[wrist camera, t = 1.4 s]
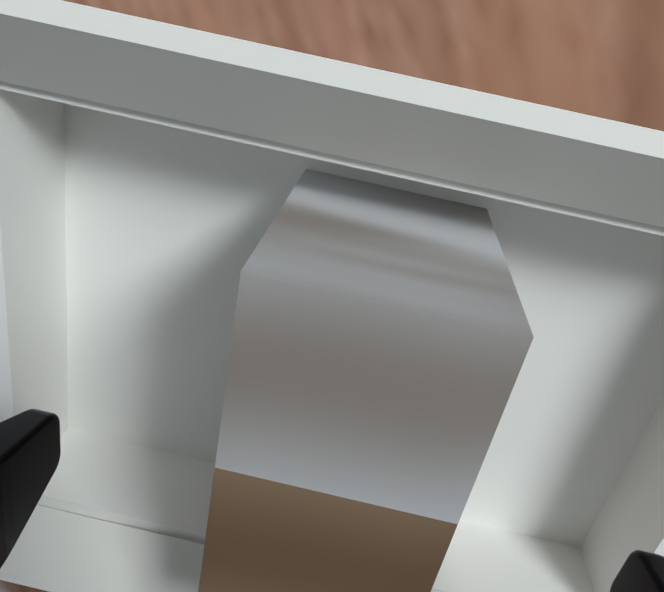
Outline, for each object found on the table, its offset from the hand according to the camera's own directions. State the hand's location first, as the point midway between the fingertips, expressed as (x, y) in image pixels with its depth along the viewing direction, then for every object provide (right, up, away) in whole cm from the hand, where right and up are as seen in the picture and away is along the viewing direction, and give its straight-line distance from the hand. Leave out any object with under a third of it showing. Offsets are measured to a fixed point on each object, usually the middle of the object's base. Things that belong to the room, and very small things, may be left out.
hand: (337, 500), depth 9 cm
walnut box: (0, +2, +4) cm, 5 cm away
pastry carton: (+1, +2, +4) cm, 5 cm away
